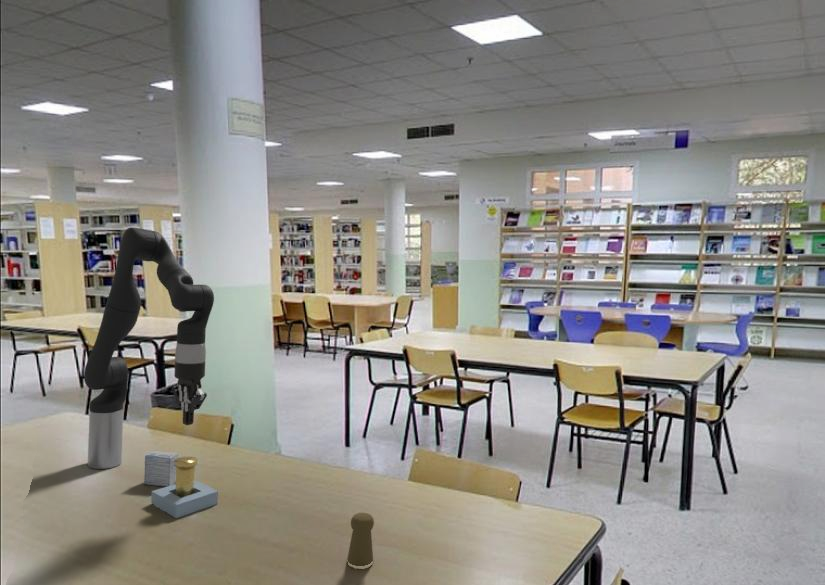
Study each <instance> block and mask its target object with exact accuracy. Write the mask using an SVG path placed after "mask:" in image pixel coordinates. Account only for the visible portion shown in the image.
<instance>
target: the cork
mask: <svg viewBox="0 0 825 585" xmlns="http://www.w3.org/2000/svg"><path fill="white" fill-rule="evenodd" d="M351 517H352V518H351V519H350V520H351V521H350V526H351V529H352V534H351V538H350V543H349V549H348V554H347V559H346V561H347V560H348V562H349V563H350V564H352V565H355V566H365V565H368V564H370V563H371V562H372V561H373V562H374V554H373V553H374V552H373V540H372V530H373V527H374V525H375V519H374V517H373V516H372V515H371V514H370V513H368V512H357V513H355V514H354V515H353V516H351Z"/></svg>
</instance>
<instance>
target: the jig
mask: <svg viewBox="0 0 825 585" xmlns="http://www.w3.org/2000/svg"><path fill="white" fill-rule="evenodd" d="M175 487H176V483H174V484H173V485H171V486H163V487H162V488H158V489H154V490H152V491H151V497H150V498H151V501H150V504H151V503H152V504H154V505H155V506H157V507H159V508H160V509H159V508H158V509H159V510H161V509H162V510H161V511H162V512H164V511H165V512H164V513H166V512H167V513H166V514H168V515H169V516H172V517H174V519H175V518H176V519H179V518H181V517H185V516H186V515H187V516H188V515H190V514H192V513H196V512H198V511H201V510H204V509H207V508H210V507H213V506H215V505H218V500H219V491H218V490H217V489H214V488H212V487H211V486H208V485H206V484H204V483H202V482H199V480H195V479H194V494H192V495H188V496H185V497H182V498H180V497H179V496H177V495H175ZM152 504H151V505H152ZM154 505H153V506H154ZM155 506H154V507H155ZM157 507H156V508H157Z"/></svg>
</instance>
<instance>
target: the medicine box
mask: <svg viewBox="0 0 825 585" xmlns="http://www.w3.org/2000/svg"><path fill="white" fill-rule="evenodd" d="M177 458H179V453H177V452H170V451H168V452H167V451H158V450H153V451H151V452H149V453H147V454H146V455H145V456H144V476H143V477H144V479H143V482H144V483H143V484H144V485H145V484H147V485H148V486H159V487H167V486H171V485H174V484H176V467H175V466H174V460H175V459H177Z"/></svg>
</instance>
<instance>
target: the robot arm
mask: <svg viewBox="0 0 825 585" xmlns="http://www.w3.org/2000/svg"><path fill="white" fill-rule="evenodd" d="M136 261H141V262H142V261H143V262H153V263H156V264H157V267H156V275H157V278H158V282H160V283H161V285H162V286H163V287H164V288H165V289H166V290H167V293H168V295H169V299H170V302H171V305H172V307H173V308H174V309H175V310H177V311H178V312H179V311H180V312H193V314H192V315H191V317H189V318H187V319H184V320H181V321H179V322H178V324H177V331H176V345H175V353H174V354H175V355H174V378H175V379H177V384H176V385H174V386H171V390H172V393H173V395H174V398H175V401H176V404H177V407H178V408H179V407H180V408H181V411H182V424H183V425H184V426H190V425H193V424H194V422H195V421H194V418H195V417H194V415H195V413H194V412H195V411H196V410H199V409H200V408H201V407H202V405H203V403H204V402H205V399H206V398H207V396H208V394H207V392H203V390H202V379H203V378H205V376H206V359H207V358H206V354H207V351H206V328H207V325H208V321H209V318H210V315H211V312H212V309H213V307H214V303H215V302H214V301H215V295H214V291H213V289H212V288H211V287H210V286H209V285H207V284H194V279H193V277H192V275H191V274H189V272H188V271H187V270H186V268H184V267H183V266H182V265H181V263H179V261H178V260H177V258H176V256H175V254H174V253H173V251H172V249H171V248H170V245H169V243H168V242H167V240H166V239H165V237H164V236H163V235H162V234H161V233H160V232H158V231H155V230H150V229H144V228H139V227H128V228H127V229H126V230H125V231H124V233H123V234H122V237H121V239H120V244H119V249H118V256H117V261H116V267H115V272H114V276H113V279H112V283H111V287H110V291H109V294H108V296H107V300H106V304H105V306H104V310H103V313H102V314H103V315H102V319H101V323H100V326H99V329H98V332H97V336H96V337H95V338H96V339H95V342H94V345H93V346H92V349H91V351H90V353H89V356H88V358H87V359H88V360H87V362H86V364H85V368H84V371H83V372H84V373H83V379H84V380H83V381H84V383H85V385H86V387H87V388H88V389H90V390H93V391H97V390H102V391H101V392H100V393H99V394H98V395H97V396H95V397H94V398H92V399H91V401H90V402H89V414H88V421H89V422H88V445H87V446H88V447H87V467H88V468H90V469H95V470H104V469H111V468H116V467H117V466H119V465H121V464H122V459H123V458H122V455H123V454H122V453H123V429H124V428H123V427H124V424H123V423H124V405H125V401H126V399H127V393H128V383H129V382H128V381H129V368H128V365H127V363H126V361H125V359H123V357H120V356H113V355H114V353H115V351H116V349H118V346H119V345H121V343H122V342H123V341H124V340H125V338H126V337H127V336H128V335H129V334H130V333H131V332H132V330H133V329H134V327H135V325H136V324H137V321H138V317H139V314H140V311H141V307H142V299H141V296H140V293H139V289H138V288H137V285H136V283H135V279H134V275H133V274H134V273H133V271H134V265H135V262H136Z"/></svg>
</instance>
